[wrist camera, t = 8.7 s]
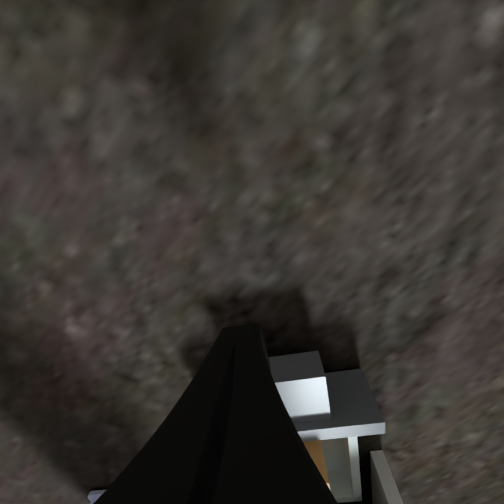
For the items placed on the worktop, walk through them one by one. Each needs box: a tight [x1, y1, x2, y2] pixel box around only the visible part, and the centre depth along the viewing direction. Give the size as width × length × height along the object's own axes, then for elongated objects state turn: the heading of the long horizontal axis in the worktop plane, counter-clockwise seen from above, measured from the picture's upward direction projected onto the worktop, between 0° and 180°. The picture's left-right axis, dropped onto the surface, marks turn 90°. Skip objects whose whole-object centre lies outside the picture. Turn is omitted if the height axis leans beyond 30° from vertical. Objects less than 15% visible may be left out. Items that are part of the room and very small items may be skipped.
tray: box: [268, 351, 385, 503], centre depth 18 cm, size 12×15×4 cm
